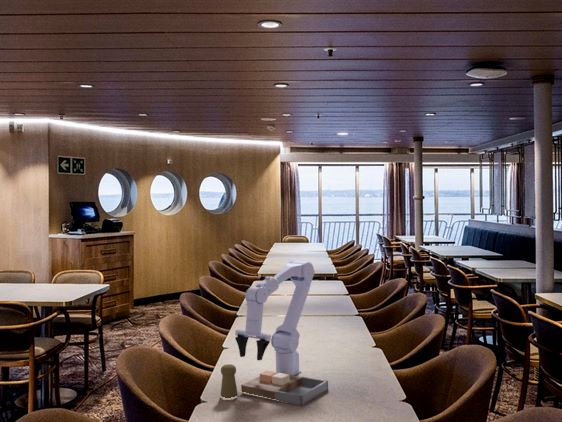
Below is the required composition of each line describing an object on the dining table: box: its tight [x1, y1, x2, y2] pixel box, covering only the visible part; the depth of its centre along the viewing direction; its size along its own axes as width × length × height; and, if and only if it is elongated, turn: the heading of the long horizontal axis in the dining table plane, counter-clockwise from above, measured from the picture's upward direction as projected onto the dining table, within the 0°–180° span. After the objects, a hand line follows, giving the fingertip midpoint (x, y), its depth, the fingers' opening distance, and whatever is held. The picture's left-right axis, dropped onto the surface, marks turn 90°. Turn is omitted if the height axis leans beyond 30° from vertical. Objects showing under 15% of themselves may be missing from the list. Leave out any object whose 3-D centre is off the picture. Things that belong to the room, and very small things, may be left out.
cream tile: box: [272, 373, 290, 385], centre depth 194 cm, size 4×4×2 cm
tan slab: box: [240, 375, 302, 399], centre depth 196 cm, size 18×14×3 cm
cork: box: [220, 363, 239, 398], centre depth 189 cm, size 6×6×11 cm
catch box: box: [275, 376, 329, 407], centre depth 189 cm, size 18×10×3 cm, turn 147°
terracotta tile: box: [259, 370, 277, 383], centre depth 197 cm, size 4×4×2 cm
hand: (250, 358), depth 200 cm, fingers open, 7 cm apart
